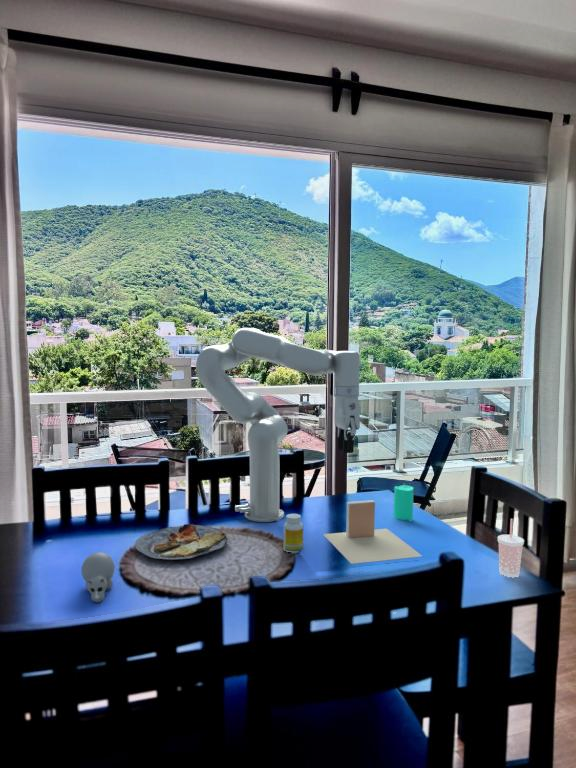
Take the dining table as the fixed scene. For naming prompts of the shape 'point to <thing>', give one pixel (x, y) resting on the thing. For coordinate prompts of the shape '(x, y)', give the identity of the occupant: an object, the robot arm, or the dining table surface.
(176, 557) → the food plate
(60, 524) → the dining table surface
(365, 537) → the cork mat
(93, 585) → the round bodied animal figurine
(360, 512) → the tile
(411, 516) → the candle
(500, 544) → the beverage cup
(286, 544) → the supplement bottle
